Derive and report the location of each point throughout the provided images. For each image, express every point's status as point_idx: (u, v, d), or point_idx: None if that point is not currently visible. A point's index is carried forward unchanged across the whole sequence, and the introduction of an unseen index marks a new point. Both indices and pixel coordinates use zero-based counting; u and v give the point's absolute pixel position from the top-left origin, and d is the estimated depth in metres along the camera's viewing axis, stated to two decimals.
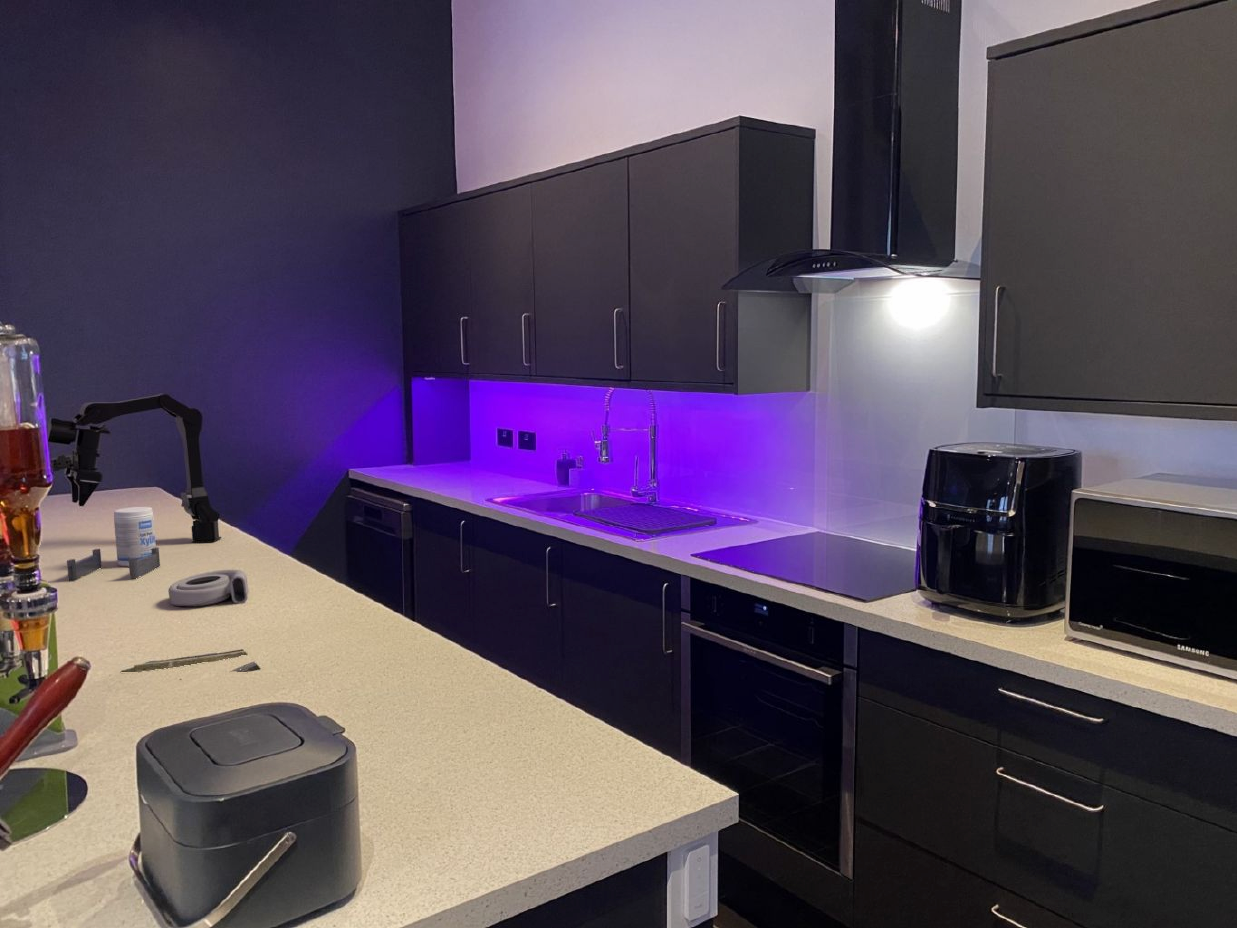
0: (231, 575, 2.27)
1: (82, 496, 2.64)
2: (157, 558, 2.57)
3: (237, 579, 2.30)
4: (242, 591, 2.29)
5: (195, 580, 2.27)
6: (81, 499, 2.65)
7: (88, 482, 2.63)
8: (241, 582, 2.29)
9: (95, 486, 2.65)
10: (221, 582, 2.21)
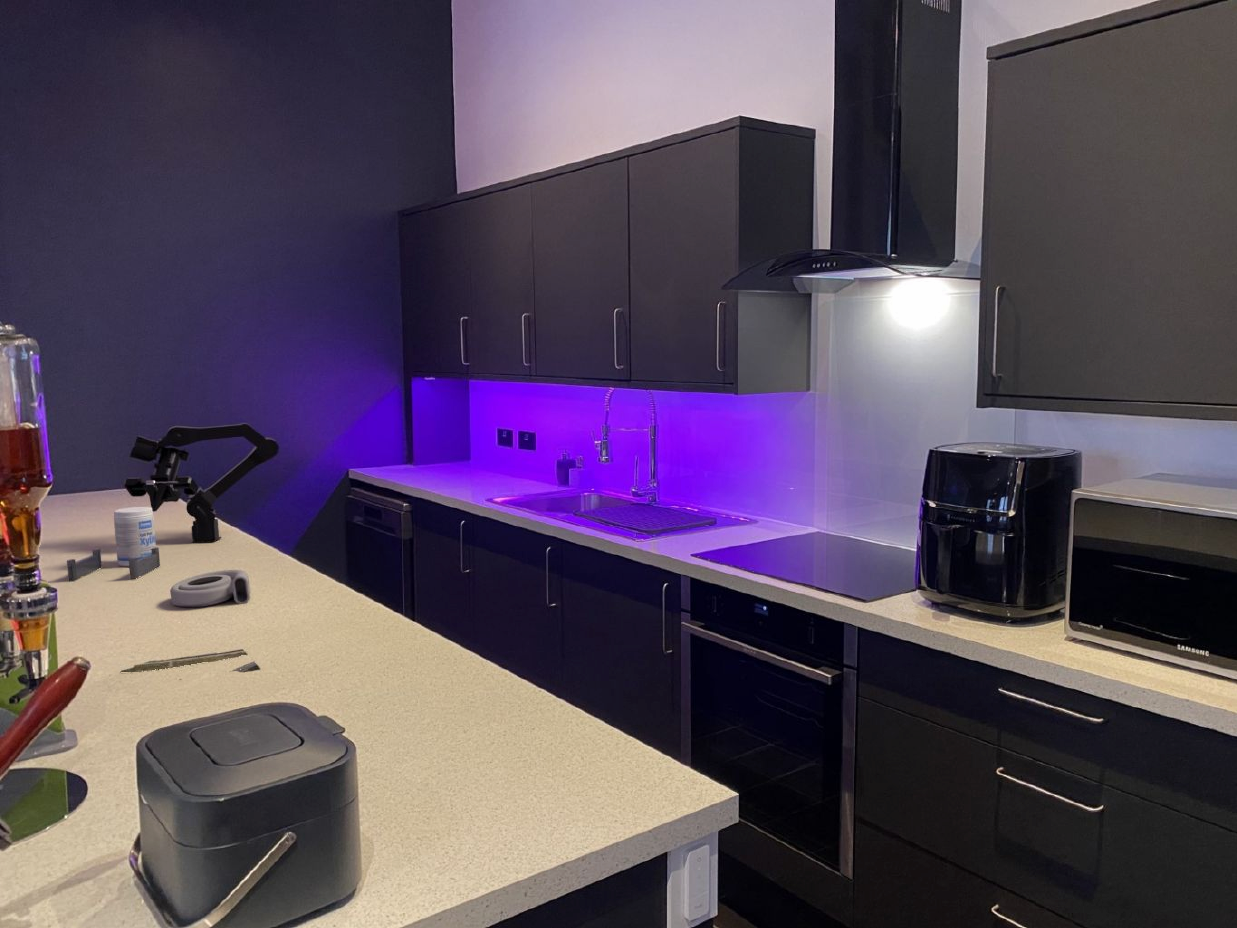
0: (233, 575, 2.26)
1: None
2: (157, 558, 2.57)
3: (239, 579, 2.30)
4: (244, 591, 2.29)
5: (197, 580, 2.26)
6: None
7: None
8: (243, 582, 2.29)
9: None
10: (223, 582, 2.20)
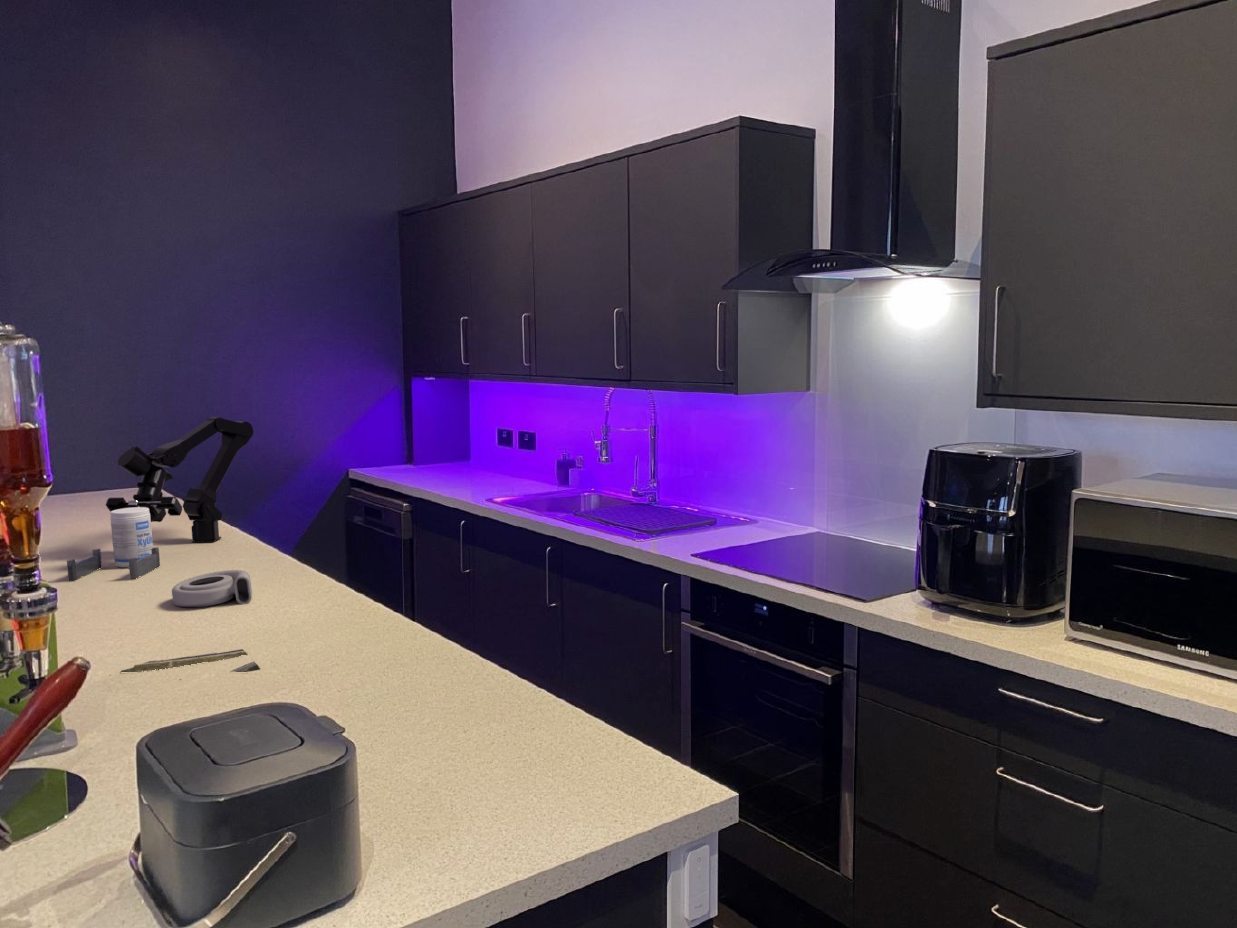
0: (234, 575, 2.26)
1: None
2: (157, 558, 2.57)
3: (240, 579, 2.30)
4: (245, 591, 2.28)
5: (198, 581, 2.26)
6: None
7: None
8: (244, 582, 2.29)
9: None
10: (225, 582, 2.20)
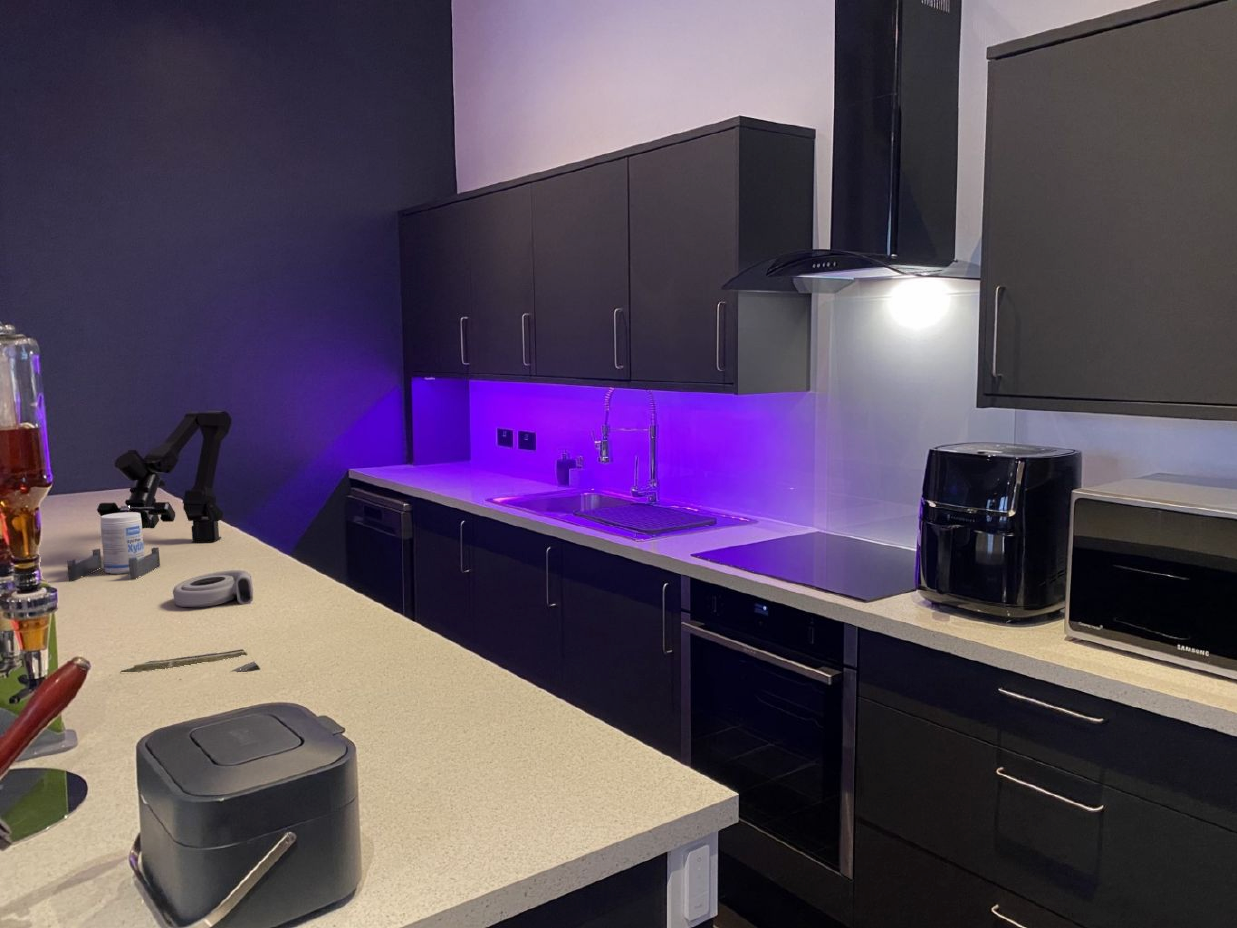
0: (235, 576, 2.26)
1: None
2: (157, 558, 2.57)
3: (241, 580, 2.30)
4: (246, 592, 2.28)
5: (199, 581, 2.26)
6: None
7: None
8: (245, 583, 2.29)
9: None
10: (226, 583, 2.20)
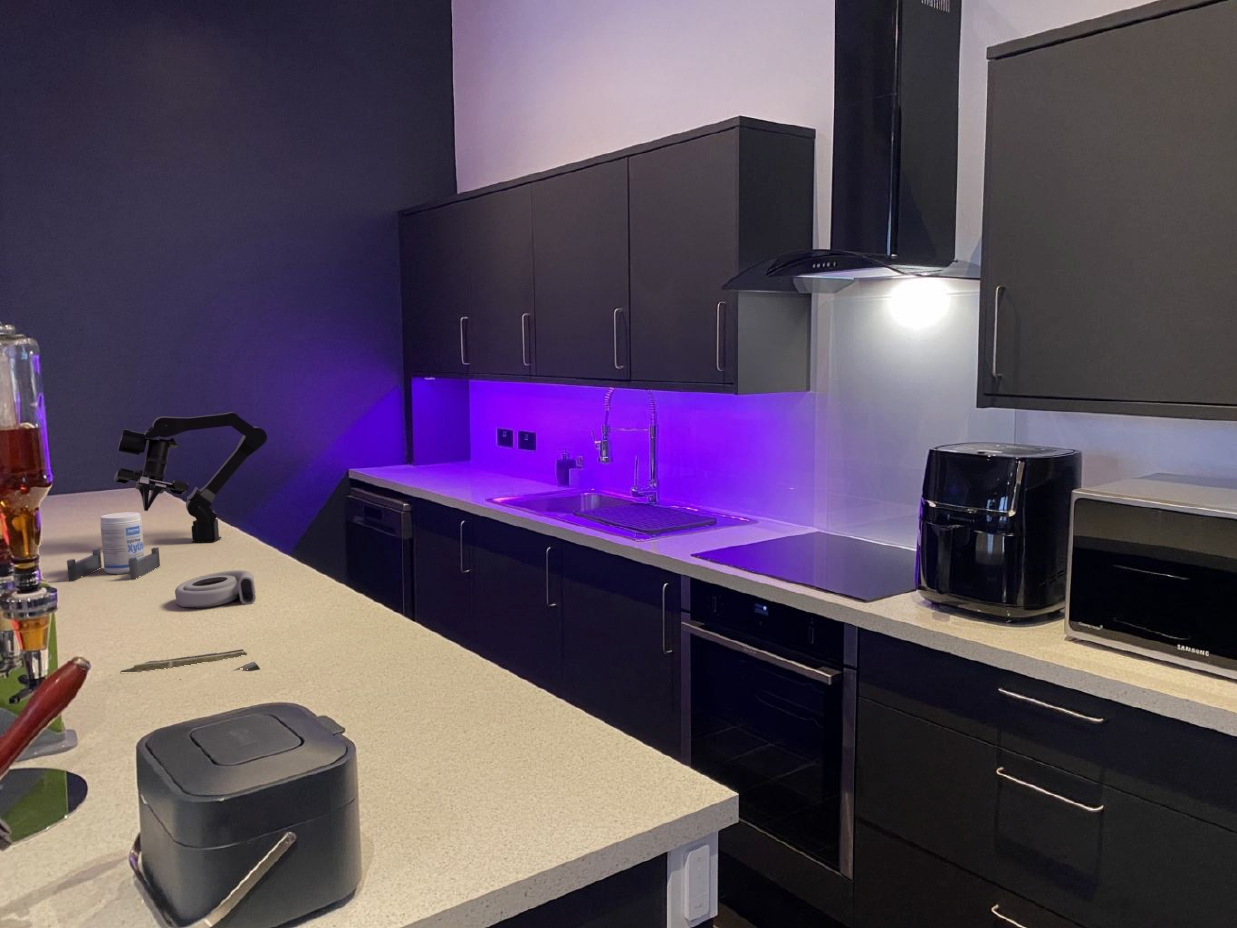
0: (237, 576, 2.26)
1: (143, 500, 2.78)
2: (157, 558, 2.57)
3: (243, 580, 2.29)
4: (248, 592, 2.28)
5: (201, 581, 2.25)
6: (143, 504, 2.78)
7: (137, 485, 2.78)
8: (247, 583, 2.29)
9: None
10: (229, 583, 2.20)
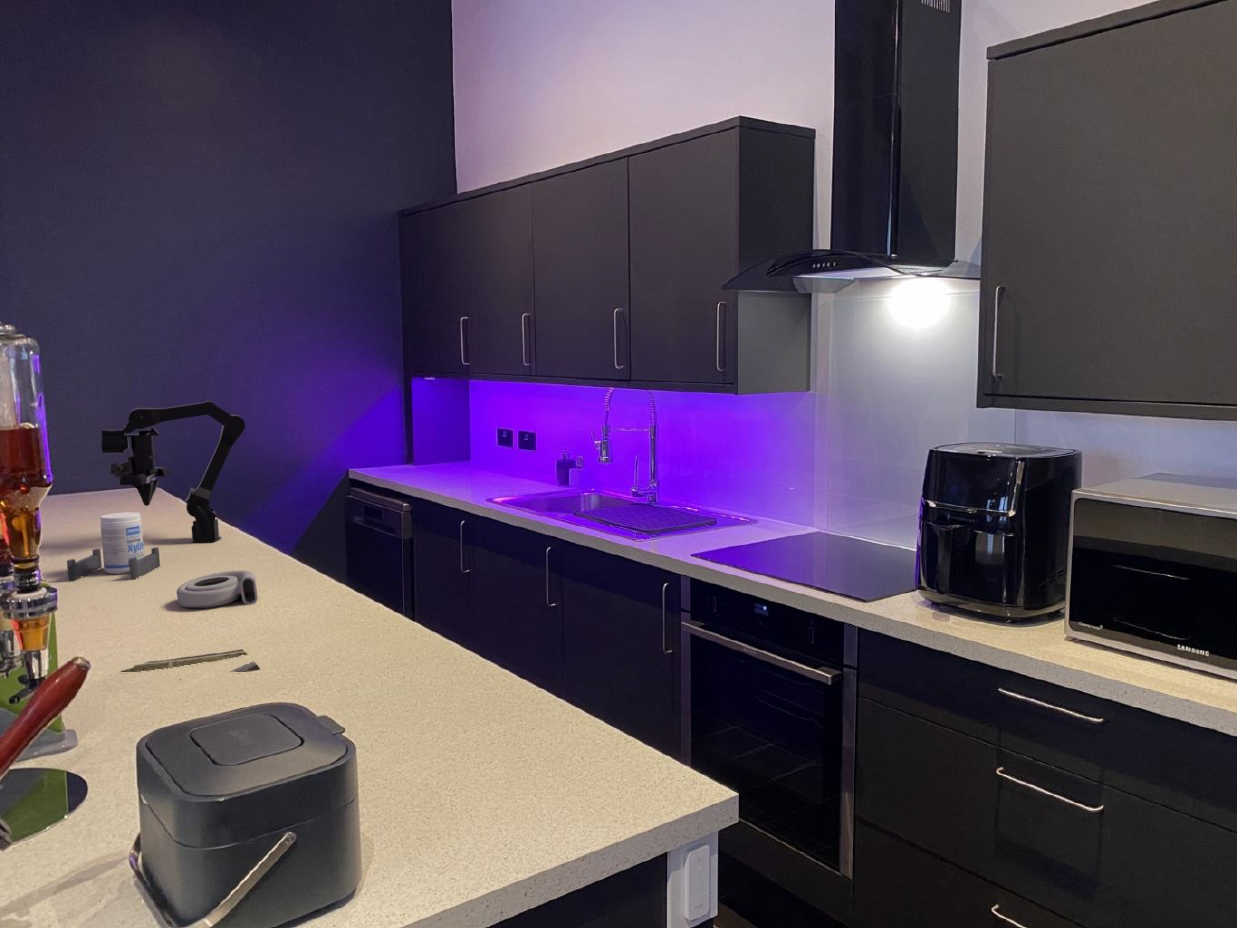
0: (239, 576, 2.25)
1: (143, 496, 2.83)
2: (157, 558, 2.57)
3: (244, 580, 2.29)
4: (250, 592, 2.28)
5: (202, 581, 2.25)
6: (143, 499, 2.84)
7: None
8: (249, 583, 2.28)
9: (149, 486, 2.82)
10: (231, 583, 2.20)
